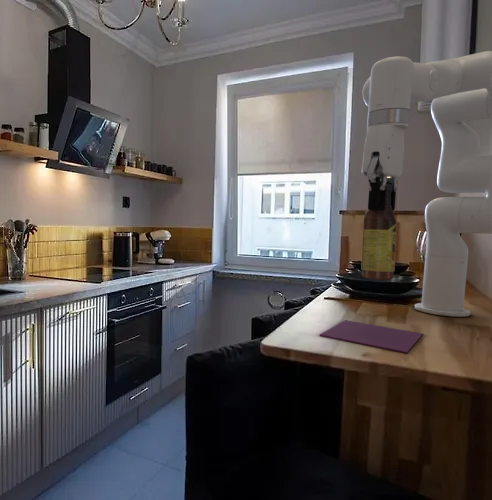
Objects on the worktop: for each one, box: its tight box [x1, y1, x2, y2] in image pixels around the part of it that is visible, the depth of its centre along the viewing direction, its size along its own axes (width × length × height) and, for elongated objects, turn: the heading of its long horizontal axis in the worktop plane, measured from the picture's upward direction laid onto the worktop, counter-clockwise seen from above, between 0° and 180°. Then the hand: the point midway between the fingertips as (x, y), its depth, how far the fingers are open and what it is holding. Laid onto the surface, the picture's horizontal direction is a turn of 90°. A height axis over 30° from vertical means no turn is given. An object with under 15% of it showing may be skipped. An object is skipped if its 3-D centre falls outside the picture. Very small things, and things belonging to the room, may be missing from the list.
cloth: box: [319, 319, 424, 354], centre depth 91 cm, size 18×16×1 cm
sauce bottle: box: [360, 185, 397, 281], centre depth 90 cm, size 6×6×20 cm
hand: (381, 209), depth 89 cm, fingers closed on sauce bottle, 4 cm apart
